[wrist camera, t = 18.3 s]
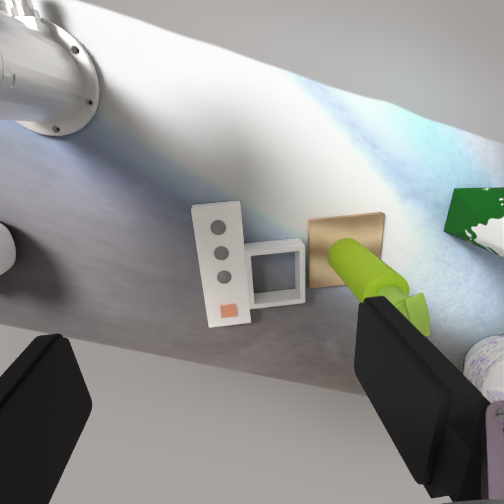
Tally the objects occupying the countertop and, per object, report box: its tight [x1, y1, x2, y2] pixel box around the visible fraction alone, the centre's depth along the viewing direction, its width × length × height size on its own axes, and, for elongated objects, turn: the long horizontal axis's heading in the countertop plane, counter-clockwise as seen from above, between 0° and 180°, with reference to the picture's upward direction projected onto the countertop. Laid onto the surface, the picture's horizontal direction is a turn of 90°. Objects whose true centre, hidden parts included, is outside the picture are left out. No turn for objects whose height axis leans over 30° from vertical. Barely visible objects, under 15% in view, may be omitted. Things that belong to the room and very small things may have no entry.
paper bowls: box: [463, 335, 504, 403], centre depth 58 cm, size 15×15×8 cm
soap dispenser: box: [327, 238, 430, 337], centre depth 39 cm, size 6×7×20 cm
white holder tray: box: [191, 200, 305, 328], centre depth 47 cm, size 20×16×4 cm
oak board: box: [308, 212, 384, 289], centre depth 49 cm, size 12×12×1 cm
